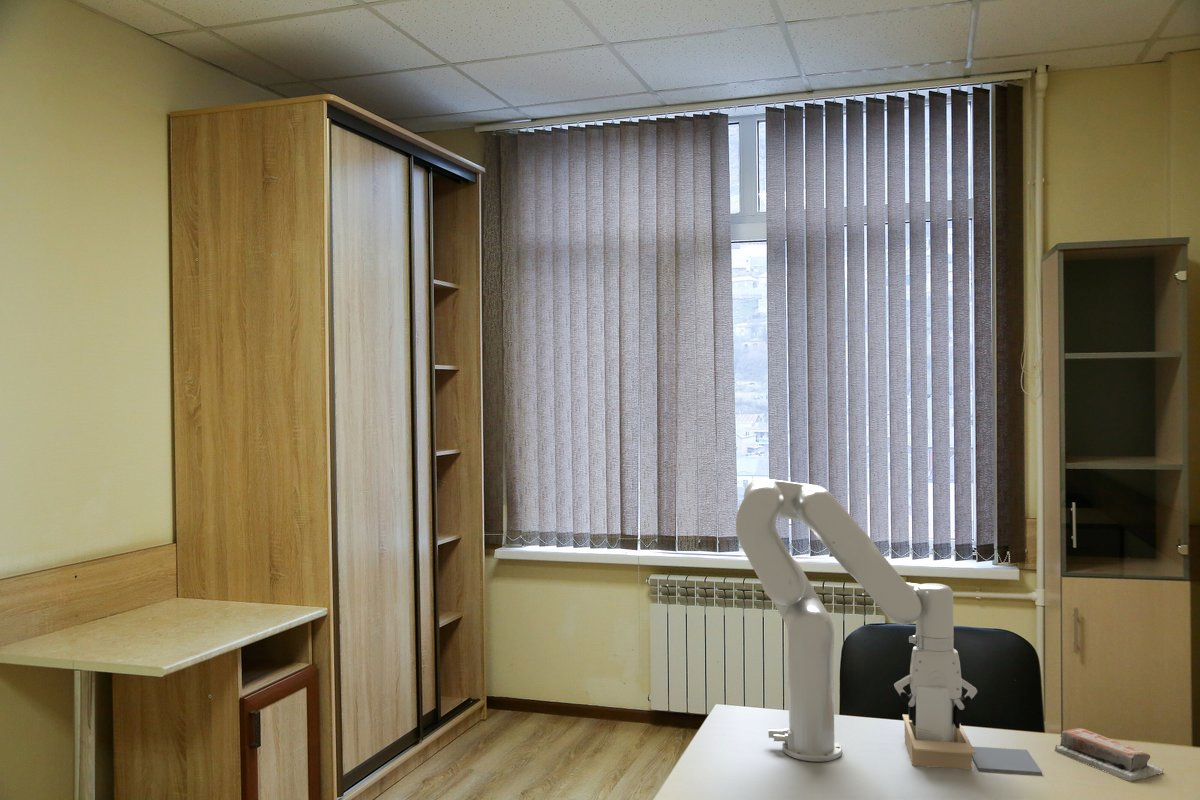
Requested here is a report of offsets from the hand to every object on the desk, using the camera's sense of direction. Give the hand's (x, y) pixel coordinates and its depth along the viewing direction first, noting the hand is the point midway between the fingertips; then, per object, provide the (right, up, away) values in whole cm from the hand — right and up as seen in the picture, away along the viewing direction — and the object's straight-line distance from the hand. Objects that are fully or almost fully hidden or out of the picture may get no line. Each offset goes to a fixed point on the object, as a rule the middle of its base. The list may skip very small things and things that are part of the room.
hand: (935, 724), depth 194 cm
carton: (0, -7, 0) cm, 7 cm away
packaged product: (+34, -7, -4) cm, 35 cm away
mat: (+13, -6, -4) cm, 15 cm away
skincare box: (0, -7, 0) cm, 7 cm away
